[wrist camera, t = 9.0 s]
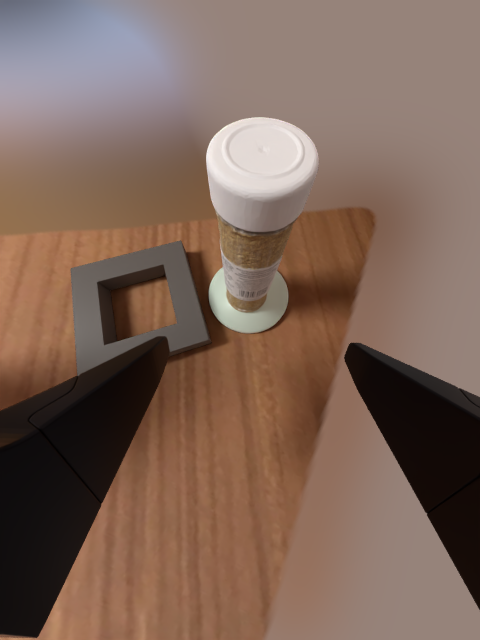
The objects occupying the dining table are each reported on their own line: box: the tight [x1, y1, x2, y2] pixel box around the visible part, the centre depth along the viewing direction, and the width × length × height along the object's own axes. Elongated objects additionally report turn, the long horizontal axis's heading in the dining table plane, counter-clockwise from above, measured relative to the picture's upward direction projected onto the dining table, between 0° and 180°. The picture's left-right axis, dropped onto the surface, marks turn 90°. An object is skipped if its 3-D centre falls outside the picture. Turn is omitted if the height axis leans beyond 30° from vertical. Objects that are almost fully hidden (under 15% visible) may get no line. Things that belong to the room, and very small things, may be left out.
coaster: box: [209, 267, 288, 334], centre depth 20 cm, size 9×9×1 cm
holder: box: [71, 241, 212, 376], centre depth 19 cm, size 12×12×2 cm
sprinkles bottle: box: [206, 117, 319, 313], centre depth 13 cm, size 5×5×14 cm
